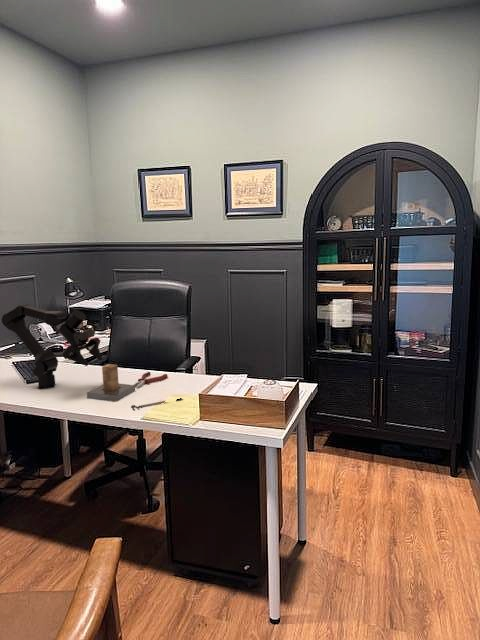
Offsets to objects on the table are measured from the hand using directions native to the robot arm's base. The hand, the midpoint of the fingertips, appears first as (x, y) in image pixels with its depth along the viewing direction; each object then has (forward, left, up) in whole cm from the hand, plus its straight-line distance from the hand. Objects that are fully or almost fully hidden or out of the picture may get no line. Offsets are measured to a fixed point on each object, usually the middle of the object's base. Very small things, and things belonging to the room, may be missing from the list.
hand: (94, 362), depth 192 cm
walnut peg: (+5, -5, -13) cm, 15 cm away
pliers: (+22, +7, -14) cm, 27 cm away
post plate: (+5, -5, -13) cm, 15 cm away
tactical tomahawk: (+20, -26, -14) cm, 36 cm away
